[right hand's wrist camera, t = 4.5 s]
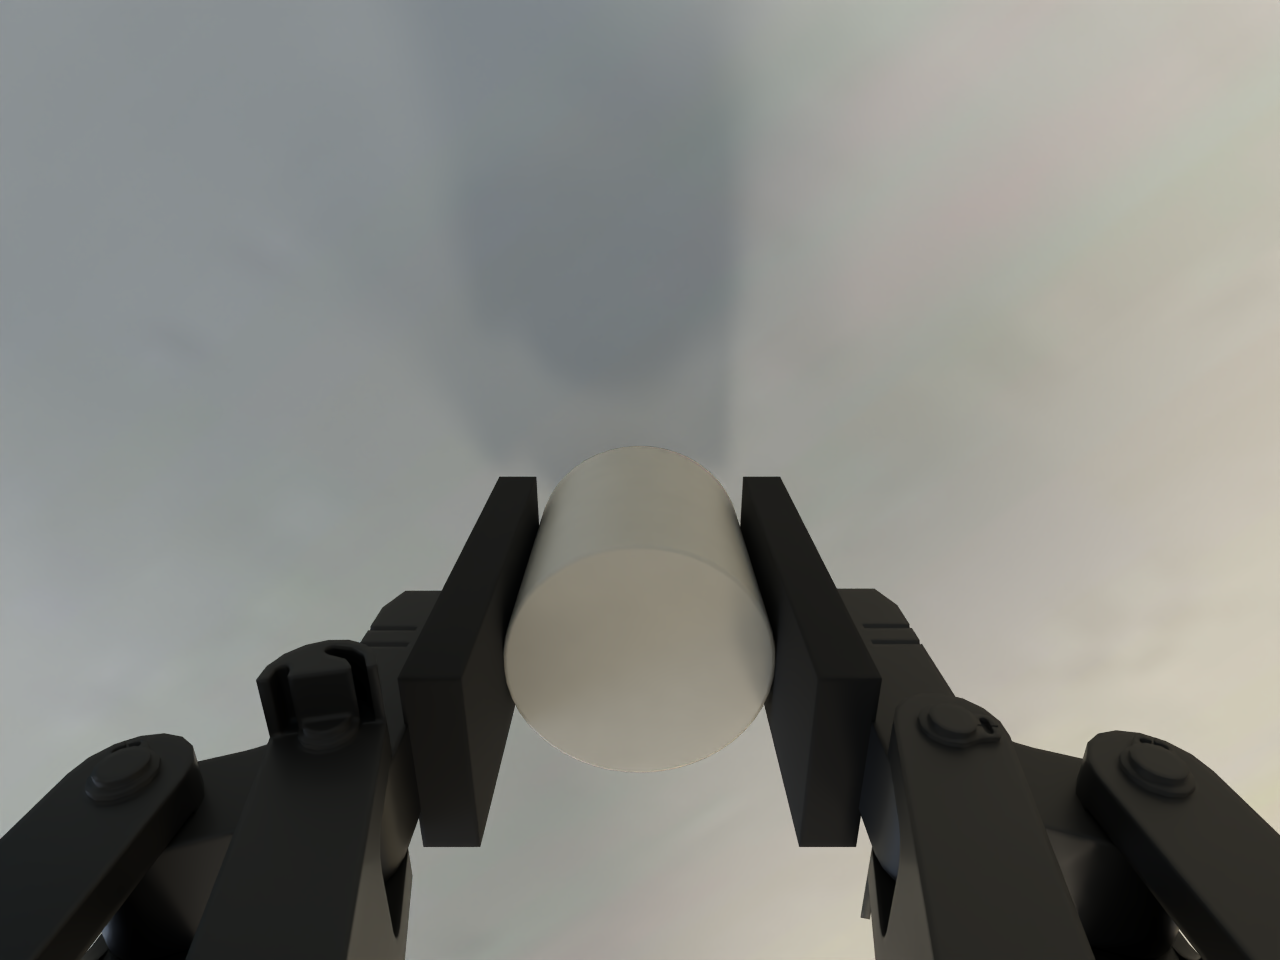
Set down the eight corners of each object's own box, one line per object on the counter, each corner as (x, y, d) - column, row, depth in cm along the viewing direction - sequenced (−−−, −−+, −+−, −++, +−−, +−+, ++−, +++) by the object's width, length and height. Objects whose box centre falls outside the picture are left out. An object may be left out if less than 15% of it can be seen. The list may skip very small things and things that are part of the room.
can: (655, 403, 14) (662, 489, 10) (777, 551, 15) (830, 684, 11) (499, 525, 15) (444, 651, 11) (625, 655, 16) (621, 813, 12)
